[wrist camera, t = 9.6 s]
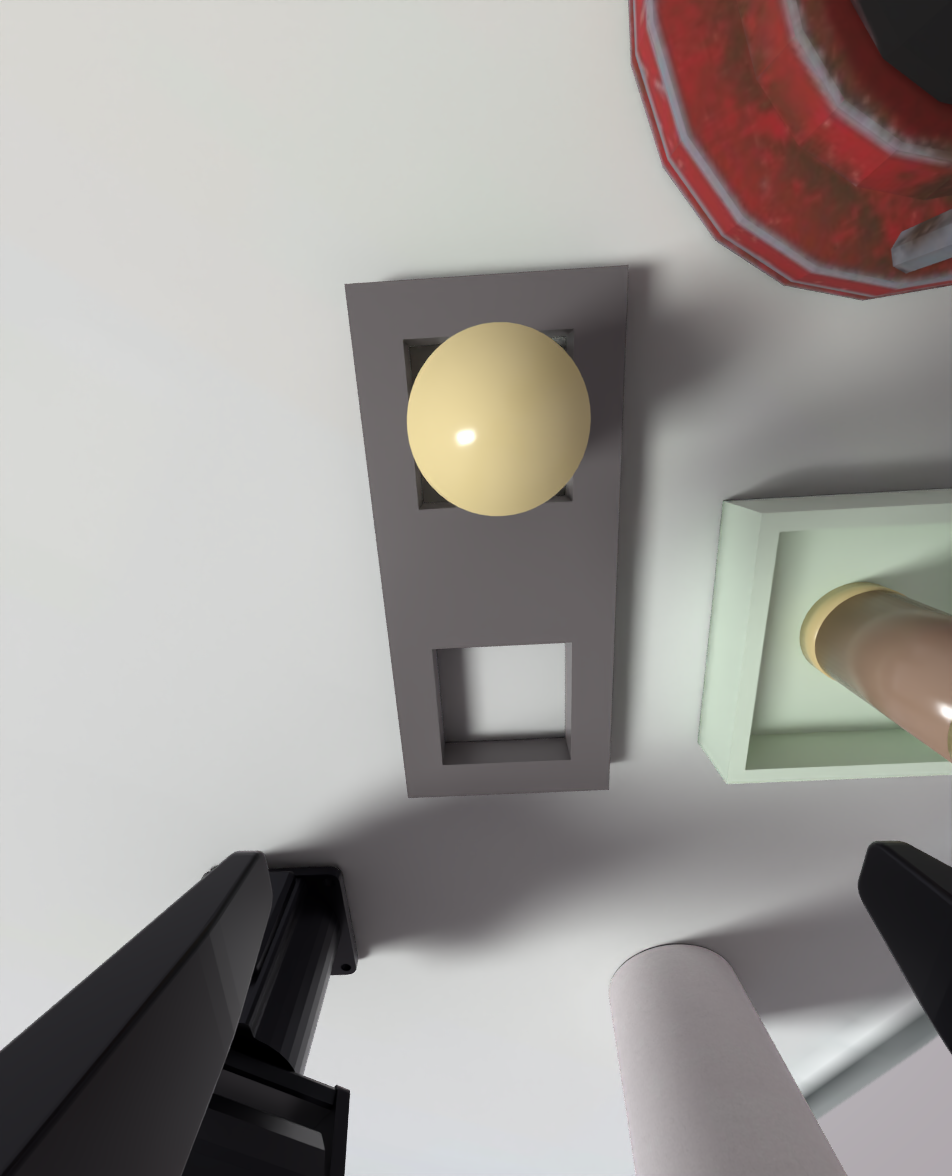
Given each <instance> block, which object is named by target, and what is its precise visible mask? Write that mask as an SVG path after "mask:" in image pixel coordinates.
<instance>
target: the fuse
mask: <svg viewBox="0 0 952 1176" xmlns="http://www.w3.org/2000/svg"><path fill="white" fill-rule="evenodd" d="M590 423H591V413H590V403H589V397H588V392H587V389H586V386H585V383H584V380H583V378H582V376H581V374H580V371H579V369H578V368H577V366H576V365H575V363H574V362H573V360H572V359H571V357H570V356H569V355H568V354H567V353H566V351H565V350H564V349H563V348H562V347H561V346H560V345H558V344H557V343H556V342H555V341H554V340H552V339H551V338H549V337H548V336H546V335H545V334H543V333H541V332H539V331H537V330H535V329H533V328H530V327H527V326H524V325H521V324H515V323H509V322H492V323H485V324H480V325H476V326H473V327H470V328H467V329H465V330H463V331H461V332H459V333H457V334H455V335H454V336H452V337H450V338H449V339H447V340H446V341H445V342H444V343H442V344H441V345H440V346H439V347H438V348H437V349H436V350H435V351H434V352H433V353H432V354H431V355H430V356H429V358H428V359H427V360H426V362H425V363H424V365H423V366H422V368H421V369H420V371H419V373H418V375H417V377H416V379H415V382H414V385H413V387H412V390H411V393H410V398H409V403H408V410H407V432H408V438H409V444H410V447H411V451H412V454H413V457H414V459H415V461H416V464H417V466H418V468H419V469H420V471H421V473H422V474H423V476H424V477H425V479H426V480H427V481H428V483H429V484H430V485H431V486H432V487H433V488H434V489H435V490H436V491H437V492H438V493H439V494H440V495H441V496H442V497H444V498H445V499H446V500H448V501H449V502H451V503H452V504H454V505H456V506H458V507H460V508H462V509H464V510H467V511H469V512H473V513H476V514H480V515H487V516H507V515H514V514H518V513H522V512H526V511H528V510H531V509H533V508H536V507H537V506H539V505H541V504H543V503H545V502H546V501H548V500H549V499H550V498H552V497H553V496H554V495H556V494H557V493H558V492H559V491H560V490H561V489H562V488H563V487H564V486H565V485H566V484H567V482H568V481H569V480H570V479H571V477H572V476H573V474H574V473H575V471H576V470H577V468H578V466H579V464H580V462H581V460H582V458H583V456H584V453H585V450H586V447H587V443H588V438H589V433H590Z"/></svg>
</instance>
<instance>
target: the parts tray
mask: <svg viewBox="0 0 952 1176" xmlns="http://www.w3.org/2000/svg"><path fill="white" fill-rule="evenodd" d="M854 582H871V583H876V584H879V585H882V586H884V587H887V588H890V589H892V590H895V591H897V592H899V593H902V594H904V595H905V596H907V597H908V598H911V599H913V600H916V601H918V602H921V603H923V604H926V605H928V606H931V607H933V608H936V609H938V610H941V611H944V612H946V613H949V614H951V615H952V488H949V489H931V490H913V491H895V492H876V493H858V494H840V495H822V496H803V497H785V498H767V499H749V500H730V501H723V505H722V515H721V524H720V534H719V544H718V553H717V563H716V572H715V582H714V591H713V601H712V610H711V620H710V629H709V639H708V648H707V658H706V667H705V677H704V687H703V696H702V706H701V715H700V725H699V734H698V743H699V745H700V746H701V748H702V749H703V751H704V752H705V754H706V755H707V756H708V758H709V759H710V761H711V762H712V764H713V765H714V767H715V768H716V770H717V771H718V773H719V774H720V775H721V777H722V778H723V780H724V781H725V783H726V784H745V783H769V782H793V781H817V780H842V779H866V778H890V777H914V776H939V775H952V763H951V762H949V761H948V760H947V759H945V758H944V757H942V756H941V755H940V754H938V753H937V752H935V751H934V750H932V749H931V748H930V747H928V746H927V745H925V744H924V743H923V742H921V741H920V740H918V739H917V738H916V737H914V736H913V735H911V734H910V733H909V732H907V731H906V730H904V729H903V728H902V727H900V726H899V725H897V724H896V723H895V722H893V721H892V720H890V719H889V718H888V717H886V716H885V715H883V714H882V713H881V712H879V711H878V710H876V709H875V708H874V707H872V706H871V705H869V704H868V703H867V702H865V701H864V700H862V699H861V698H859V697H858V696H857V695H855V694H854V693H852V692H851V691H850V690H848V689H847V688H845V687H844V686H843V685H841V684H840V683H838V682H837V681H835V680H832V679H831V678H829V677H828V676H826V675H825V674H823V673H822V672H821V671H819V670H818V669H816V668H815V667H814V666H812V665H811V664H810V663H809V662H808V661H807V660H806V658H805V657H804V655H803V653H802V650H801V647H800V638H799V637H800V630H801V625H802V623H803V620H804V618H805V616H806V614H807V613H808V611H809V610H810V608H811V607H812V606H813V605H814V604H815V603H816V602H817V601H818V600H819V599H820V598H821V597H822V596H824V595H825V594H826V593H828V592H830V591H831V590H833V589H835V588H837V587H840V586H843V585H845V584H849V583H854Z"/></svg>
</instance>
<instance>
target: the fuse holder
mask: <svg viewBox="0 0 952 1176" xmlns="http://www.w3.org/2000/svg"><path fill="white" fill-rule="evenodd" d="M627 290H628V265H625V266H610V267H594V268H579V269H564V270H549V271H534V272H519V273H504V274H489V275H474V276H459V277H444V278H429V279H414V280H399V281H384V282H369V283H354V284H345V292H346V300H347V308H348V316H349V324H350V332H351V340H352V348H353V356H354V365H355V373H356V381H357V389H358V397H359V405H360V413H361V421H362V429H363V437H364V445H365V453H366V461H367V469H368V477H369V485H370V494H371V502H372V510H373V518H374V526H375V534H376V542H377V550H378V558H379V566H380V574H381V582H382V590H383V598H384V606H385V614H386V623H387V631H388V639H389V647H390V655H391V663H392V671H393V679H394V687H395V695H396V703H397V711H398V719H399V727H400V735H401V743H402V752H403V760H404V768H405V776H406V784H407V792H408V798H418V797H442V796H466V795H491V794H515V793H539V792H563V791H588V790H609V769H610V742H611V716H612V689H613V662H614V636H615V609H616V583H617V556H618V529H619V503H620V476H621V450H622V423H623V396H624V370H625V343H626V317H627ZM492 322H509V323H515V324H521V325H524V326H527V327H530V328H533V329H535V330H537V331H539V332H541V333H543V334H545V335H546V336H548V337H549V338H552V337H566V353H567V354H568V355H569V356H570V357H571V359H572V360H573V362H574V363H575V365H576V366H577V368H578V369H579V371H580V374H581V376H582V378H583V380H584V383H585V386H586V389H587V392H588V397H589V403H590V413H591V423H590V433H589V438H588V443H587V447H586V450H585V453H584V456H583V458H582V460H581V462H580V464H579V466H578V468H577V470H576V471H575V473H574V474H573V476H572V477H571V479H570V480H569V481H568V482H567V484H566V495H562V496H553V497H552V498H550V499H549V500H548V501H546V502H545V503H543V504H541V505H539V506H537V507H536V508H533V509H531V510H528V511H526V512H522V513H518V514H514V515H507V516H487V515H480V514H476V513H473V512H469V511H467V510H464V509H462V508H460V507H458V506H456V505H454V504H452V503H451V502H436V503H423V494H422V483H421V472H420V469H419V468H418V466H417V464H416V461H415V459H414V457H413V454H412V451H411V447H410V444H409V438H408V432H407V410H408V403H409V398H410V393H411V390H412V387H413V383H412V372H411V361H410V350H409V347H410V346H426V345H441V344H442V343H444V342H445V341H446V340H447V339H449V338H450V337H452V336H454V335H455V334H457V333H459V332H461V331H463V330H465V329H467V328H470V327H473V326H476V325H480V324H485V323H492ZM550 643H565V738H548V739H525V740H502V741H479V742H456V743H445V737H444V726H443V715H442V704H441V693H440V682H439V671H438V660H437V649H446V648H467V647H488V646H508V645H529V644H550Z"/></svg>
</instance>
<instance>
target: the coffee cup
mask: <svg viewBox="0 0 952 1176" xmlns="http://www.w3.org/2000/svg"><path fill="white" fill-rule="evenodd" d="M609 1001H610V1008H611V1015H612V1022H613V1028H614V1035H615V1041H616V1048H617V1055H618V1061H619V1068H620V1074H621V1081H622V1088H623V1094H624V1101H625V1107H626V1114H627V1121H628V1127H629V1134H630V1141H631V1147H632V1154H633V1161H634V1167H635V1174H636V1176H847V1174H846V1172H845V1171H844V1169H843V1167H842V1165H841V1163H840V1162H839V1160H838V1158H837V1156H836V1154H835V1153H834V1151H833V1149H832V1147H831V1145H830V1144H829V1142H828V1140H827V1138H826V1136H825V1135H824V1133H823V1131H822V1129H821V1128H820V1126H819V1124H818V1122H817V1120H816V1118H815V1117H814V1115H813V1113H812V1111H811V1109H810V1108H809V1106H808V1104H807V1102H806V1100H805V1099H804V1097H803V1095H802V1093H801V1091H800V1090H799V1088H798V1086H797V1084H796V1082H795V1081H794V1079H793V1077H792V1075H791V1073H790V1072H789V1070H788V1068H787V1066H786V1064H785V1062H784V1061H783V1059H782V1057H781V1055H780V1053H779V1052H778V1050H777V1048H776V1046H775V1044H774V1043H773V1041H772V1039H771V1037H770V1035H769V1034H768V1032H767V1030H766V1028H765V1026H764V1025H763V1023H762V1021H761V1019H760V1017H759V1016H758V1014H757V1012H756V1010H755V1008H754V1006H753V1005H752V1003H751V1001H750V999H749V997H748V996H747V994H746V992H745V990H744V988H743V987H742V985H741V983H740V981H739V979H738V978H737V976H736V974H735V972H734V970H733V969H732V967H731V966H730V964H729V963H728V962H727V961H726V960H725V959H724V958H723V957H721V956H720V955H719V954H717V953H715V952H713V951H711V950H709V949H706V948H703V947H699V946H694V945H685V944H674V945H665V946H660V947H655V948H652V949H649V950H646V951H644V952H641V953H639V954H637V955H635V956H634V957H632V958H631V959H629V960H628V961H626V962H625V963H624V964H623V965H622V966H621V967H620V968H619V969H618V970H617V971H616V973H615V974H614V976H613V978H612V980H611V982H610V986H609Z"/></svg>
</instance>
